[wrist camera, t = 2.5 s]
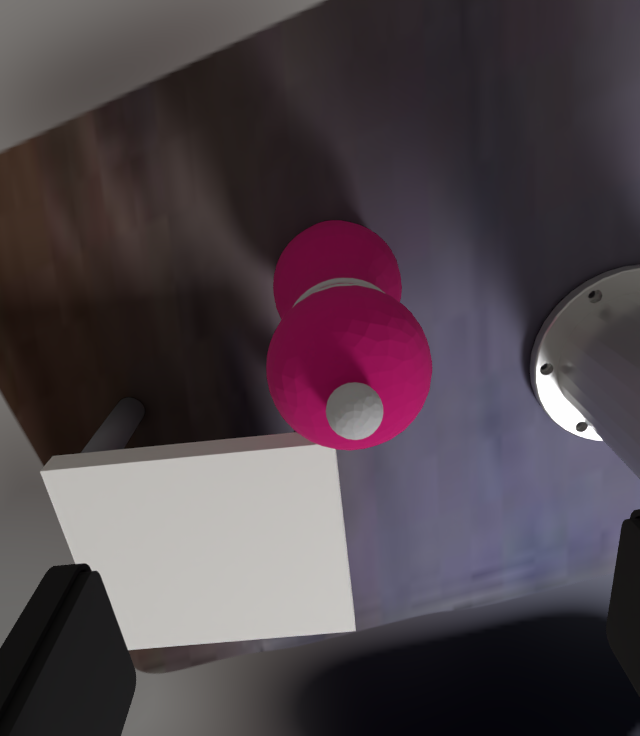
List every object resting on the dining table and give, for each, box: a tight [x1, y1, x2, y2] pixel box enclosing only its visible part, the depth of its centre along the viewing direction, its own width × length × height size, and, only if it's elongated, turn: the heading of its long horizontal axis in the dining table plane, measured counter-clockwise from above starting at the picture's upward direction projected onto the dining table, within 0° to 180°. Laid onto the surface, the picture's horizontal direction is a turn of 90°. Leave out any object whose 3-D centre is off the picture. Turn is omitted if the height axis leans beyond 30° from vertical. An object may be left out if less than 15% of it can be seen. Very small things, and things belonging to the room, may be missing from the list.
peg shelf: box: [40, 398, 356, 650], centre depth 35 cm, size 16×14×10 cm
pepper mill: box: [266, 220, 432, 450], centre depth 25 cm, size 7×7×20 cm
